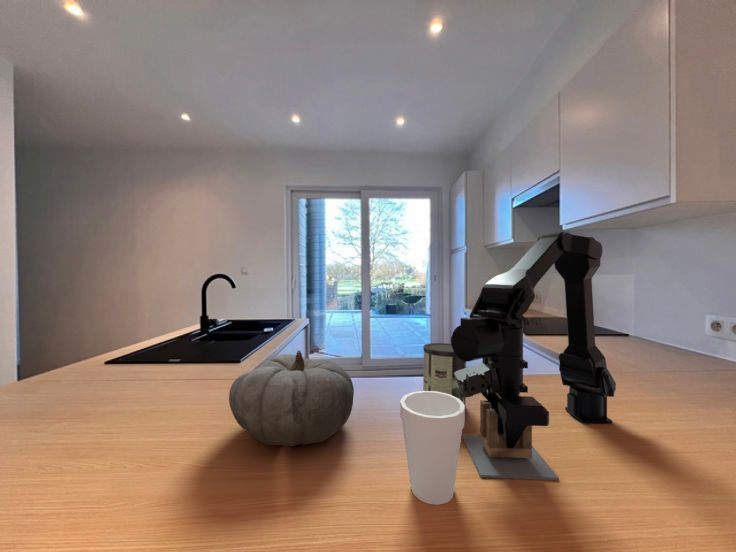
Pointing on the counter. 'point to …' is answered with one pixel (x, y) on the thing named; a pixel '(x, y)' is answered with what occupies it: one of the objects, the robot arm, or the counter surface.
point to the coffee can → (442, 369)
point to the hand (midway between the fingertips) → (504, 440)
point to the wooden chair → (501, 436)
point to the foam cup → (432, 443)
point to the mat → (507, 463)
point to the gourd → (292, 400)
